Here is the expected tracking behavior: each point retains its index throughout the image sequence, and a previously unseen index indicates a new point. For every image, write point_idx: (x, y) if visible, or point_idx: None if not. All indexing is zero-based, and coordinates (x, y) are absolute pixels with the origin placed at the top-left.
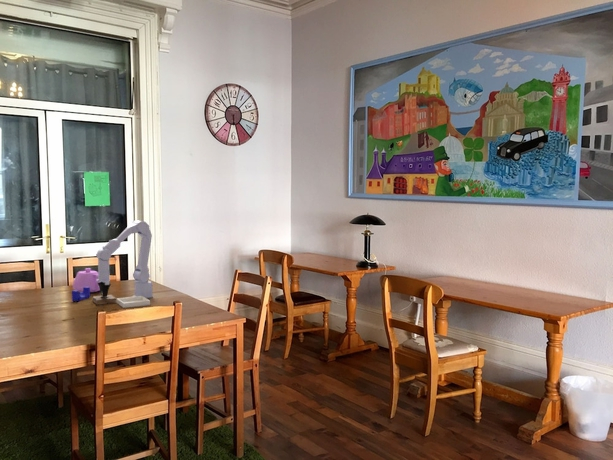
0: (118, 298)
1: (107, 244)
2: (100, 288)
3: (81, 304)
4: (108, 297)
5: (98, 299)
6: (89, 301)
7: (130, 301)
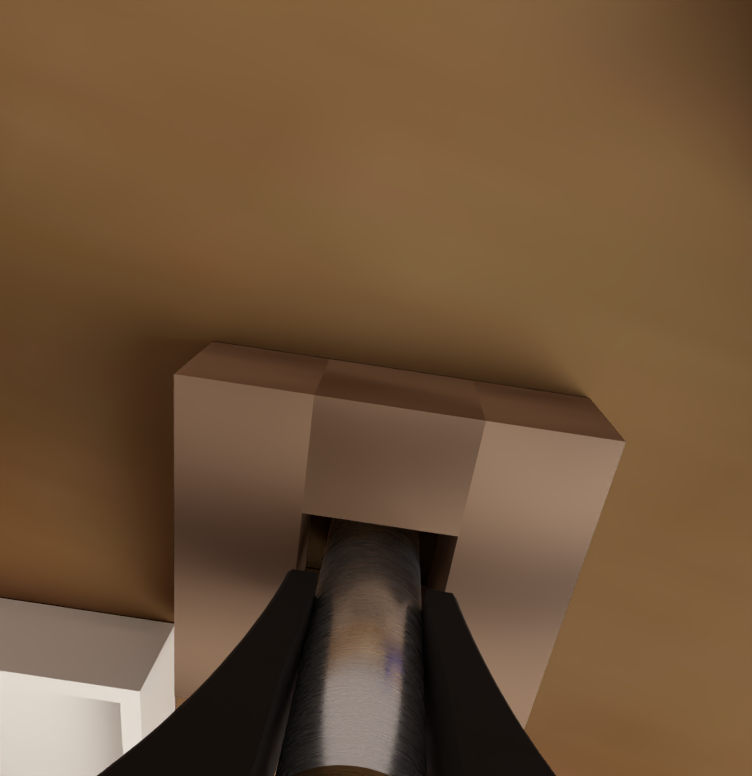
0: (122, 709)
1: None
2: (452, 739)
3: (430, 67)
4: None
5: (216, 423)
6: (607, 337)
7: (109, 765)
